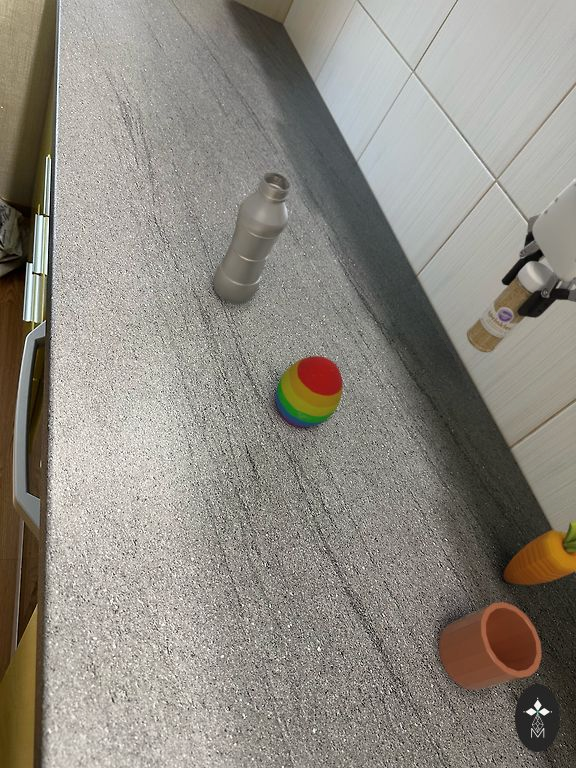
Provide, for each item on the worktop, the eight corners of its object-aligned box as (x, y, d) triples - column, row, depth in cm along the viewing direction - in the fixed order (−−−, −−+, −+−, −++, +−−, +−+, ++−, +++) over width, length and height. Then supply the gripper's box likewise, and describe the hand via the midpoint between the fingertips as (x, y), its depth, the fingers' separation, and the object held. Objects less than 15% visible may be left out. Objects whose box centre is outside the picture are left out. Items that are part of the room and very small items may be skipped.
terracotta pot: (480, 618, 68) (524, 599, 62) (502, 685, 64) (552, 672, 58) (430, 624, 66) (471, 604, 60) (450, 694, 62) (496, 681, 56)
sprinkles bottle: (463, 343, 79) (526, 273, 69) (467, 323, 82) (528, 254, 72) (492, 359, 79) (559, 291, 69) (495, 338, 82) (559, 271, 72)
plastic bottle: (205, 275, 85) (244, 160, 70) (247, 277, 88) (293, 167, 73) (214, 308, 82) (258, 195, 67) (258, 309, 85) (308, 201, 70)
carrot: (481, 564, 73) (565, 518, 62) (508, 555, 75) (593, 509, 64) (501, 603, 71) (591, 563, 59) (528, 593, 73) (620, 552, 62)
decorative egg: (301, 446, 73) (333, 404, 66) (256, 403, 75) (282, 357, 67) (336, 414, 79) (369, 372, 71) (294, 374, 80) (322, 329, 73)
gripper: (696, 241, 57) (568, 353, 71) (614, 142, 67) (515, 258, 80) (643, 229, 54) (521, 348, 68) (566, 128, 64) (472, 250, 77)
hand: (519, 298), depth 74 cm, fingers closed on sprinkles bottle, 4 cm apart
